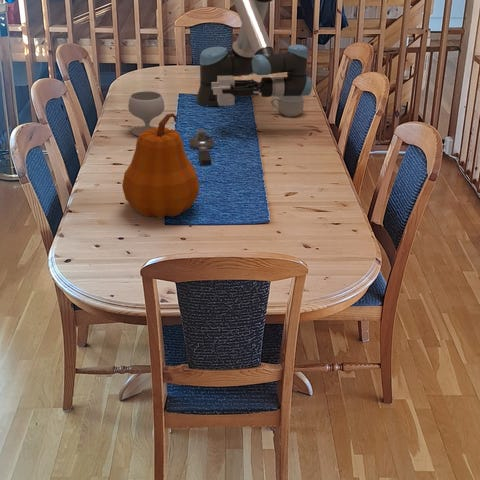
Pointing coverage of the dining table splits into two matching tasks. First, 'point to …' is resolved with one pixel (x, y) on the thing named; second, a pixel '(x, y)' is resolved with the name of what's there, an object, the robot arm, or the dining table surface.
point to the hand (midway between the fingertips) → (212, 88)
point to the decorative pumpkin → (160, 174)
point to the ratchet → (202, 146)
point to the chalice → (145, 108)
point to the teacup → (289, 105)
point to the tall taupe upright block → (225, 98)
